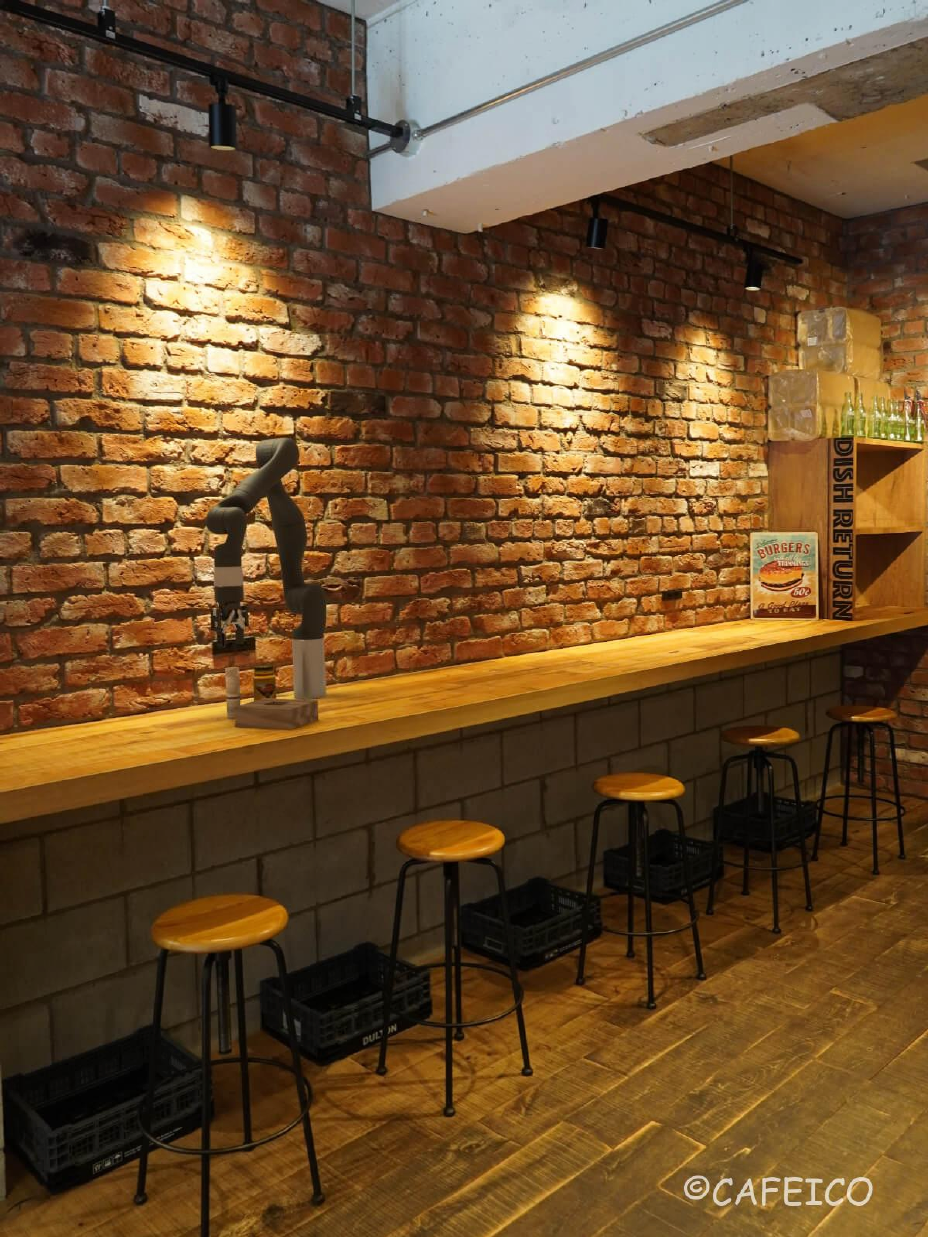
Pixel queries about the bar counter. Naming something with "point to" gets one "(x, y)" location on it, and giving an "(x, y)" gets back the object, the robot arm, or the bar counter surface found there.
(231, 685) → the peg
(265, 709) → the wooden block with hole
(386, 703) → the bar counter surface
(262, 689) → the condiment
